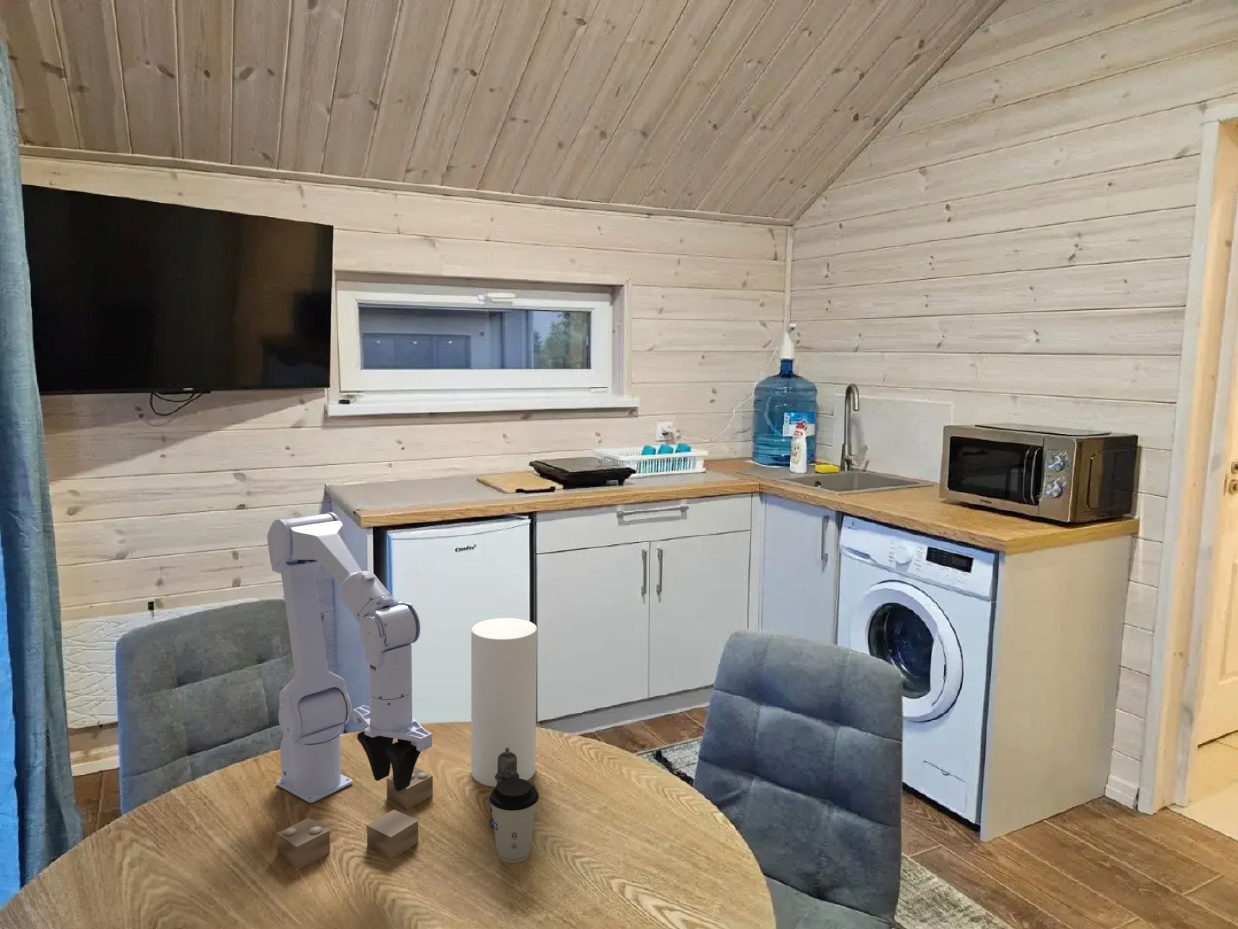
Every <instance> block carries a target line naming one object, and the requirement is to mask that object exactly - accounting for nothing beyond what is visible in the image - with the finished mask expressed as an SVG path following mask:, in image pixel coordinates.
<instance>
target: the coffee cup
mask: <svg viewBox="0 0 1238 929" xmlns="http://www.w3.org/2000/svg"><path fill="white" fill-rule="evenodd" d="M488 798H489V801H490V802H491V806H492V814H493V815H492V814H491V815H492V817H493V822H494V830H493V831H494V839H495V845H496V855H497V857H498V859H500V860H501V861H502V862H504V863H509V864H515V863H516V864H517V863H520V862H524V860H526V859H528V858H529V856H530V854H531V847H532V839H533V833H534V826H535V818H536V812H537V805H538V801H539V798H540V793H539V792H538V789H537V787H535V785H532V784H531V783H530V781H529V780H524V779H519V778H513V779H505V780H501V781H500V782H498V783H497V785H496V787H494V788H493V789H492V790H491V792H490V793H489V796H488Z"/></svg>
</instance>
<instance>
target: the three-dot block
mask: <svg viewBox="0 0 1238 929" xmlns="http://www.w3.org/2000/svg"><path fill="white" fill-rule="evenodd" d="M433 786H434V775H432V774H430V773H428V772H426V771H424V770H422V769H419V768H417V767H414V770H413V774H412V777H411V781H410V785H409V786H408V787H406V788H405V789H403V790H401V791H397V790H395V787H394V782H393V774H391V775H389V776H387V777H386V798H387V799H388V800H391V801H392V802H394V803H396V804H398V805H399V806H401V807H404V808H405V809H410V808H412V807H414V806H416V805H418V804H419V803H421V802H424V801H425V800H427V799H429V798H431V797H433V796H434V790H433V789H434V787H433Z"/></svg>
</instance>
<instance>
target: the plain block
mask: <svg viewBox="0 0 1238 929" xmlns="http://www.w3.org/2000/svg"><path fill="white" fill-rule="evenodd" d="M366 843H367V844H366V845H367V846H366V847H367V848H369V849H371V850H373V851H374V852H377V853H379V854H380V855H382V856H384V857H386V858H388V859H390V860H392V859H394V858H396V857H397V856H400V855H401V854H402V853H404V852H405V851H407V850H408V849H411V847H413V846H415V845H416V844H418V843H419V820H417V819H416V818H413V817H411V816H410V815H407V814H404V813H403V812H400V811H398V810H396V809H392V810H391V811H389V812H388V813H386V814H384V815H382V816H380V817H378V818H377V819H375V820H374V821H371V822H370V823H368V824H367V825H366Z"/></svg>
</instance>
